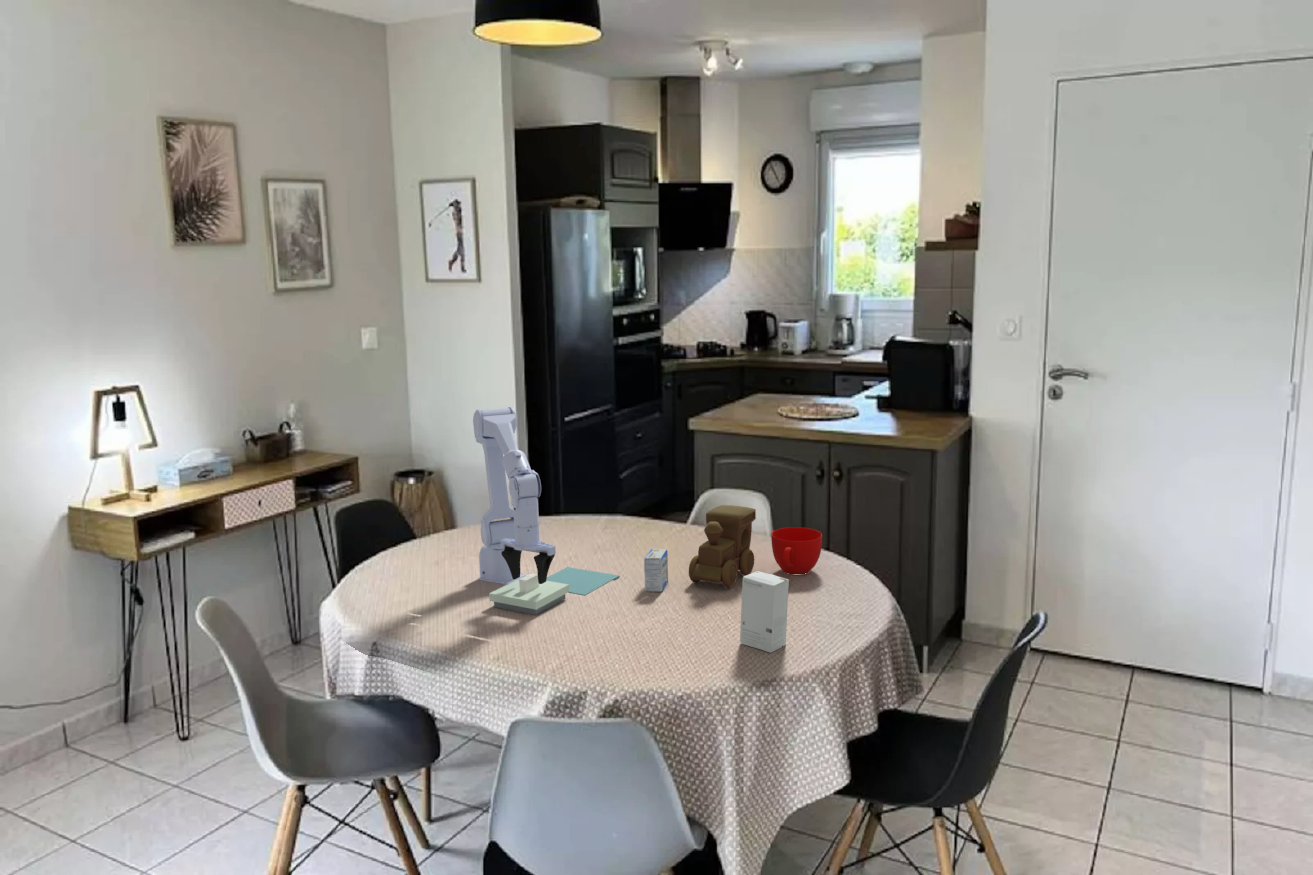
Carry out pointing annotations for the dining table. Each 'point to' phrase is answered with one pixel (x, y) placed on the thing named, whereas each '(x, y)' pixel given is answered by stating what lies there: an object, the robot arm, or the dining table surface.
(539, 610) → the tub
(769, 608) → the skincare box
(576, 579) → the mat
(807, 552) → the ceramic cup
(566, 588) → the lid
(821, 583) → the dining table surface
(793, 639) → the dining table surface
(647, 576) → the medicine box
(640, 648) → the dining table surface
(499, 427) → the robot arm
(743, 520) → the wooden toy train
